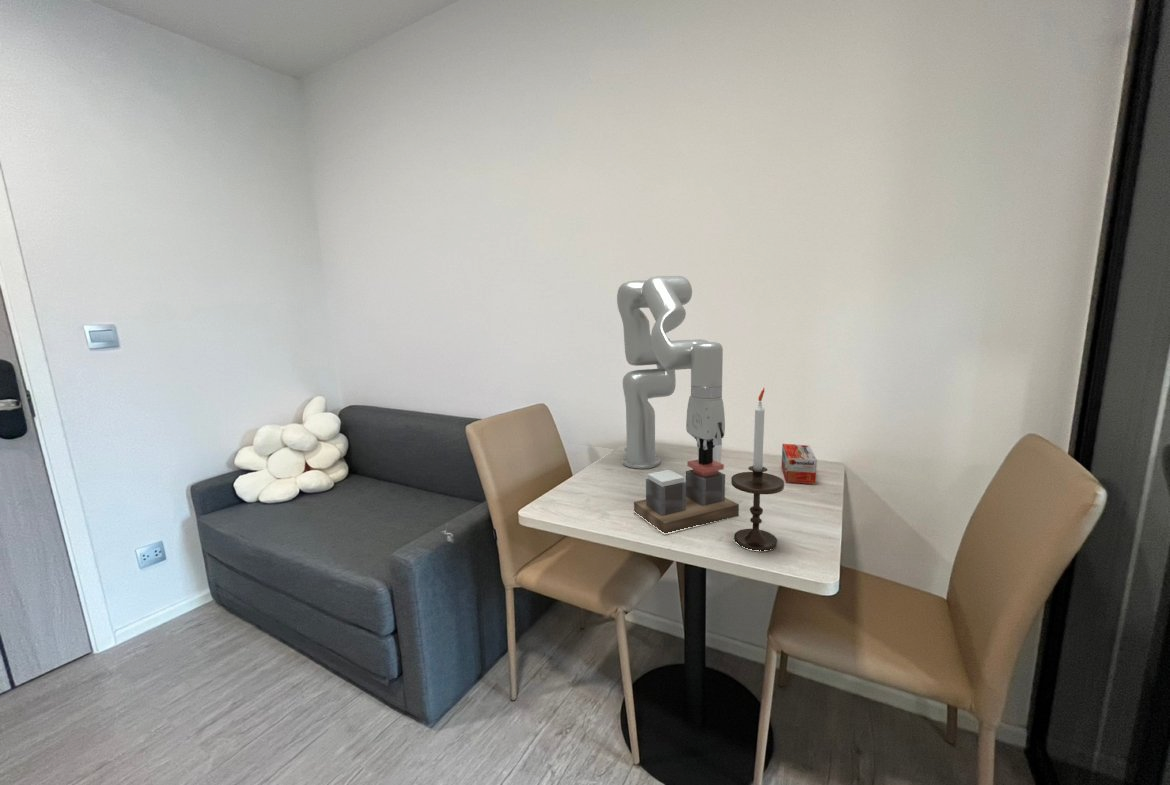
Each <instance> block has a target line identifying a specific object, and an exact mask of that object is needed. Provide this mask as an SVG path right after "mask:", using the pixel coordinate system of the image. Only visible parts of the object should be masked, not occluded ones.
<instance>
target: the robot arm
mask: <svg viewBox="0 0 1170 785" xmlns="http://www.w3.org/2000/svg"><path fill="white" fill-rule="evenodd" d="M692 296H693V288H692V285H691V282H690V280H689V279H688V278H687V277H685V276H682V275H681V276H680V275H666V276H665V275H661V276H660V275H658V276H653V277H650V278H648V279H647V280H646V279H645V280H643V279H642V280H631V281H627V282H623V283H622V284H621V285H620V286H619V287H618V289H617V293H616V304H617V309H618V312H619V316H620V318H621V321H622V325H623V339H624V340H623V341H624V343H623V344H624V353H625V360H626V361H627V363H628V365H631V366H636V367H637V366H650V365H651V366H653V365H654V366H655V365H656V368H651V369H650V368H646V369H635V370H631V371H628V372H627V373H625V375H624V376H623V378H622V390H623V395H624V400H625V401H624V402H625V417H626V418H625V420H626V424H625V426H626V433H625V434H626V447H624V451H625V452H626V456H624V457H623V458H622V460H621V461H622V464H623V466H625V467H628V468H632V469H642V470H643V469H651V468H652V469H653V468H655V467H657V466H659V465H660V464H661V459H660V458H659V457H657V456H656V411H655V409H654V407H653V405H652V404H651V403H650V402H649V399H654V398H664V397H669V396H671V395H673V394H674V393H675V391H676V390H675V389H676V383H677V382H676V379H677V378H676V371H679V370H690V396H689V398H688V402H687V407H686V408H687V409H686V421H685V422H686V424H685V426H686V427H685V430H686V432H687V434H689V435H690V436H691V437H692V438H694V439H695V442H696V446H697V447H698V448H699V463H700V464H702V465H706V464H711V463H712V462H713V449H714V448H715V445H721V444H722V445H723V441H722V440H723V439H724V437H725V432H726V420H725V419H726V418H725V407H724V401H723V363H724V362H723V360H724V358H723V357H724V356H723V354H724V353H723V352H724V349H723V346H722V344H721V343H720V342H717V341H709V340H706V339H681V340H679V339H678V340H671V339H670V338H669V337H668V336H667V334H668V333H669V332H671V331H673V330H675V329H677V328H678V327H679V326H680V325H681V324H682V323H683V322H684V320H685V319H686V315H687V314H686V312H687V311H686V309H685V307H684V305H687V304H688V303H689V302H690V300H691V299H692ZM641 309H649V311H650V313H651V314H652V316H653V318H654V320H655V323H654V324H653V327H652V328H651V327H650V326H651V324H650V321H649V318H648V317H647V315H646V313H644V311H642V310H641ZM650 328H651V330H650ZM721 438H722V440H721ZM708 441H709V442H708Z"/></svg>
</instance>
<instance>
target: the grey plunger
mask: <svg viewBox="0 0 1170 785" xmlns="http://www.w3.org/2000/svg"><path fill="white" fill-rule="evenodd" d="M647 479H649V480H651V481H653V482H654V483H656V484H658V485H660V486H661V487H664V486H669V485H673V484H678V483H682V482H685V477H684V476H683V475H680V474H679V473H677V472H675V471H673V470H671V469H665V470H660V471H656V472H655V471H654V472H651V473H647Z"/></svg>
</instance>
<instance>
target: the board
mask: <svg viewBox="0 0 1170 785" xmlns="http://www.w3.org/2000/svg"><path fill="white" fill-rule="evenodd" d="M725 496H726V474H724V473H723V472H722V471H721V472H720V471H718V474H717V475H713V476H708V477H702V476H699V475H697V474H695V473H693V469H689V470H685V481H684V482H682V483H678V484H673V485H669V486H664V487H661V486H660V485H658V484H656V483H654V482H653V481H651V480H649V479H648V478H646V479H645V499H641V500H637V501H636V500H635V501H633V512H634V511H635V512H636V513H637V514H639V515H640V516H642V517H643V518H644V519H646V520H647V521H648V522H650V523H651V524H652V525H654V526H655V527H657V528H658V529H659V530H661V531H662V532H664V533H668V532H672V531H676V530H680V529H684V528H688V527H693V526H696V525H702V524H705V525H707V524H706V523H709V524H711V523H710V522H713V523H715V522H714V521H717V522H720V521H719V520H721V521H723V520H722V519H724V520H727V518H728V519H731V518H732V519H733V518H735V517H738V516H740V515H739V514H740V509H739V508H740V504H739V503H737V502H735V501H733V500H731V499H729V498H727V497H725ZM702 526H703V525H702Z"/></svg>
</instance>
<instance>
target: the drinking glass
mask: <svg viewBox="0 0 1170 785" xmlns="http://www.w3.org/2000/svg"><path fill="white" fill-rule="evenodd" d="M721 440H723V438H721ZM708 442H709V441H708ZM722 448H723V443H722V444H721V445H715V448H714V449H713V460H714V461H717V462H719V463H722V462H721V460H722V452H723V450H722ZM696 449H697V460H698V459H699V448H698V447H697V448H696ZM718 471H719V472H720V471H721V470H718Z"/></svg>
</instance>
